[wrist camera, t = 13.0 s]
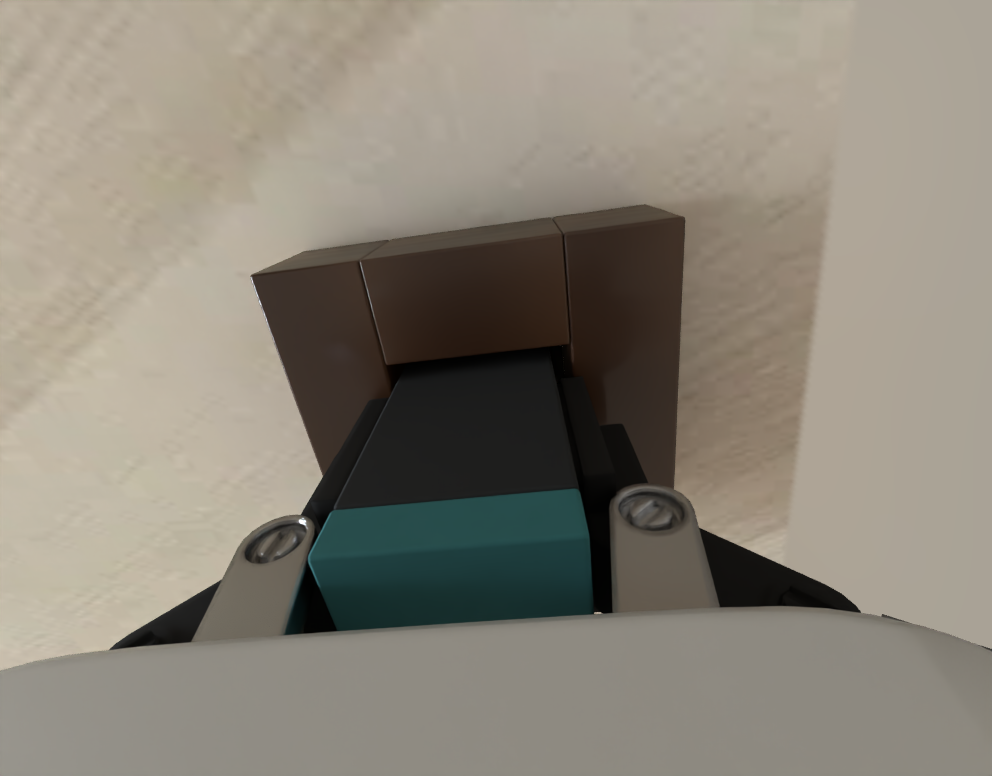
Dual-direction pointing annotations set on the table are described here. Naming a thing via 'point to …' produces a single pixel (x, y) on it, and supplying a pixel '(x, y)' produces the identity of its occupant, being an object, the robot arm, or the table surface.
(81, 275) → the table surface
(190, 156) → the table surface
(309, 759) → the robot arm
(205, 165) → the table surface
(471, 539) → the block
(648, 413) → the mount block
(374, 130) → the table surface
